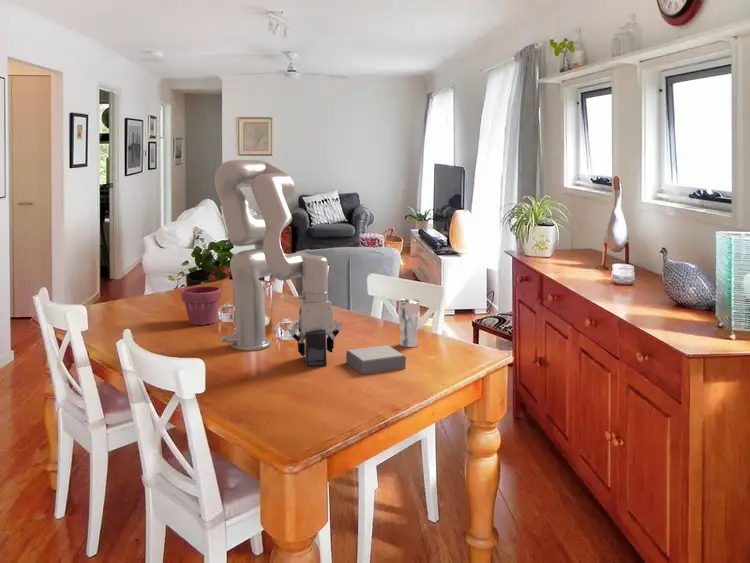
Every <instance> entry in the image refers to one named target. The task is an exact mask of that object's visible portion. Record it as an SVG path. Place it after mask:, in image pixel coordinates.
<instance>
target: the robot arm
mask: <svg viewBox="0 0 750 563" xmlns="http://www.w3.org/2000/svg"><path fill="white" fill-rule="evenodd" d="M214 186H215V191H216V193H217V197H218V199H219V201H220V204H221V208H222V211H223V218H224V222H225V227H226V230H227V235H228V239H229V241H230V243H231V244H232V245H233V246H235V247H247V246H254V248H251V249H245V250H242V251H238V252H236V253H235V254H234V255H233V256H232V257H231V258H230V262H229V268H230V274H231V277H232V282H233V294H234V317H235V318H234V322H235V323H234V325H235V330H234V331H232V333H231V334H230V335H222V336H220V342H222V343H224V342H225V343H228V344H229V343H230V345H231V348H233V349H235V350H237V349H238V351H250V352H251V351H258V350H264V349H266V348H268V347H270V346H271V340H270V339H269V338H266V315H265V314H266V312H265V311H266V310H265V309H266V308H265V307H266V306H265V305H266V304H265V292H264V288H263V285H262V283H261V282H260V279H261V278H266V277H269V276H273V277H274V278H275V279H276V280H279V281H289V280H293V279H299V278H302V291H301V294H298V295H297V298H298V299H299V300H301V301H300V304H299V310H298V320H297V322H296V323H295V324H293V325H292V326H291V327H290V328H288V333H289V334H290V336H291V337H292V339H293V338H294V339H295V341H296V342H297V352H298V354H300V355H301V356H302V357H304V356H305V334H306V332H312V331H318V330H326V351H327V352H329V353H333V349H334V346H335V345H334V344H335V343H334V340H335V339H336V336H338V334H339V333H340V330H341V329H342V328H343V324H342V323H340V322H338V321H336V320H335V319H334V313H333V306H332V302H331V300H329V292H328V291H329V289H328V288H329V286H328V285H329V282H328V281H329V280H328V278H329V276H328V273H329V272H328V271H329V270H328V266H329V265H328V264H329V263H328V258H326V256H323V255H316V254H315V255H313V254H310V253H308V252H302V251H300V252H295V253H288V254H285V253H284V249H283V248H282V245H281V235H282V232H283V230H284V228H286V227H287V226H289V225H290V224H291V223H292V220H293V216H292V212H291V211H290V208H289V206H288V203H287V200H290V199H291V198H292V197H293V196H294V194H295V189H296V188H295V187H296V186H295V182H294V181H293V178H292V177H291V176H290V175H289V174H288V173H287V172H285V171H283V170H281V169H280V168H278V167H276V166H274V165H272V164H270V163H269V162H267V161H264V160H261V159H234V160H233V159H232V160H228V161H225V162H222V163H221V164H220V165H219V166H218V168H217V170H216V171H215V175H214ZM241 188H251V191H252V193H253V196H254V198H255V202H256V204H257V206H258V209H259V212H260V214H255V215H253V214H252V211H251V207H250V203H249V200H248V198H247V197H246V195H245V194H244V193H243V191H242V190H241ZM297 330H298V332H299V333H298V335H297V333H296V331H297Z"/></svg>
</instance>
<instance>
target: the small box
mask: <svg viewBox="0 0 750 563" xmlns="http://www.w3.org/2000/svg"><path fill="white" fill-rule="evenodd" d="M304 343H305V355H304V356H305V357H304V358H305V365H306V368H307V367H310V368H311V367H327V363H328V362H327V334H326V330H318V331H312V332H306V334H305V339H304Z"/></svg>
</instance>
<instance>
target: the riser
mask: <svg viewBox="0 0 750 563" xmlns="http://www.w3.org/2000/svg"><path fill="white" fill-rule="evenodd" d="M345 353H346V358H345V359H346V360H345V361H346V362H345V363H347V365H349V366H351V368H352V369H354V370H356V371H357V372H358V373H360V374H361V375H368V374H375V373H381V372H383V373H384V372H390V371H395V370H403V369H406V362H407V361H406V360H407V358H406V356H405V355H404V354H402V353H401V352H399V350H398V351H397V349H396V348H395V349H394V348H393V347H391V346H390V345H388V344H387V345H386V344H385V345H378V346H369V347H361V348H355V349H347V351H346V352H345Z"/></svg>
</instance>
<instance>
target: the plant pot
mask: <svg viewBox="0 0 750 563" xmlns="http://www.w3.org/2000/svg"><path fill="white" fill-rule="evenodd" d="M221 299H222V290H221V287H219V286H215V285H202V286H201V285H198V286H190V287H186V288H183V289H181V301H182V302H184V306H185V311H186V313H187V317H188V320H189V324H190V323H191V324H190V325H192V324H193V325H192V326H197V325H204V326H207V325H206V324H210V325H212V324H211V323H213V324H215V323H216V319H217V315H218V314H217V313H218V307H219V301H220V300H221ZM214 322H215V323H214Z"/></svg>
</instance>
